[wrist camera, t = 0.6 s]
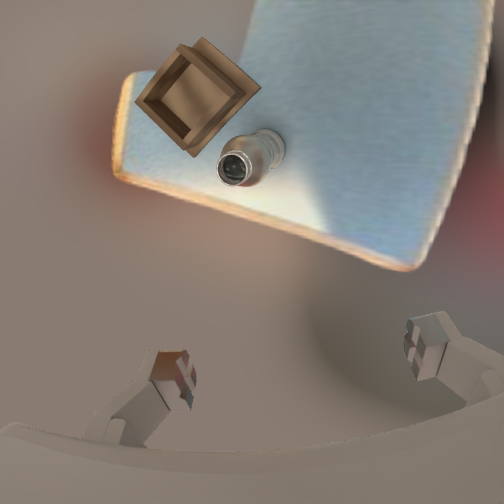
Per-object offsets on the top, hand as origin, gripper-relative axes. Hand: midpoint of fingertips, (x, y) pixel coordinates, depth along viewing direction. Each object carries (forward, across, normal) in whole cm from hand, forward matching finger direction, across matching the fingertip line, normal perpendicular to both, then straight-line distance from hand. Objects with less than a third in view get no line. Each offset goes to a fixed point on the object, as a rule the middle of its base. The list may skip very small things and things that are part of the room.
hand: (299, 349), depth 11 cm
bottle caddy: (+48, +10, -11) cm, 50 cm away
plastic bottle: (+45, 0, 0) cm, 45 cm away
